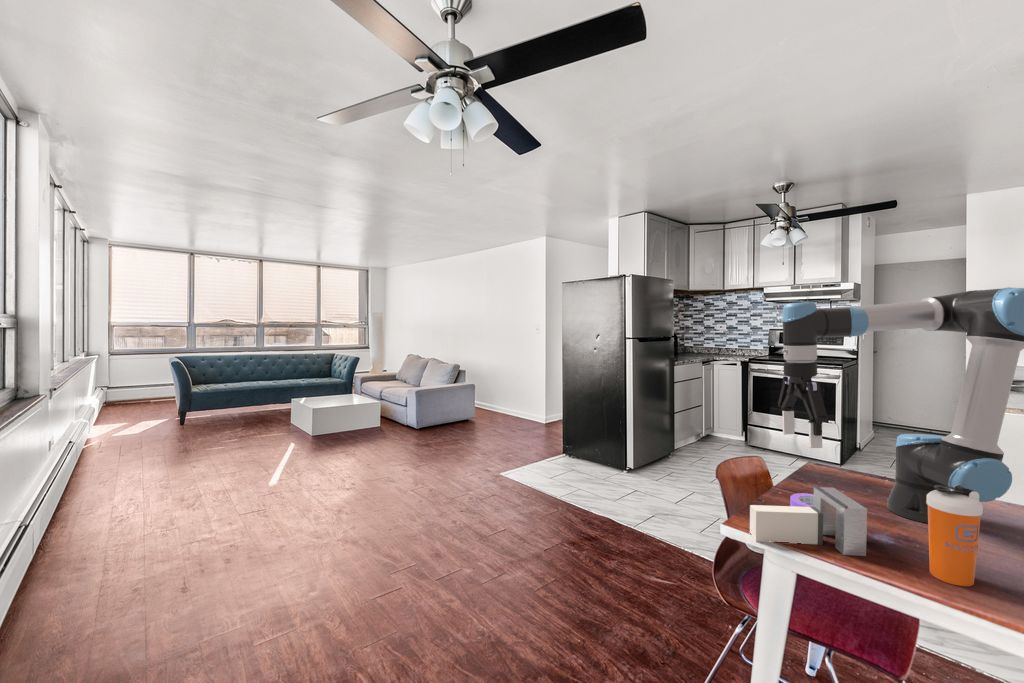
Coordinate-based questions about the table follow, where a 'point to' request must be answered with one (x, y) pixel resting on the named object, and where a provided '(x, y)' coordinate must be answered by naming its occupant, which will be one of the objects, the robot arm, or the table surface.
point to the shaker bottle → (953, 533)
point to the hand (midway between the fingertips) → (801, 440)
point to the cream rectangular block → (786, 524)
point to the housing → (842, 520)
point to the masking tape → (802, 500)
